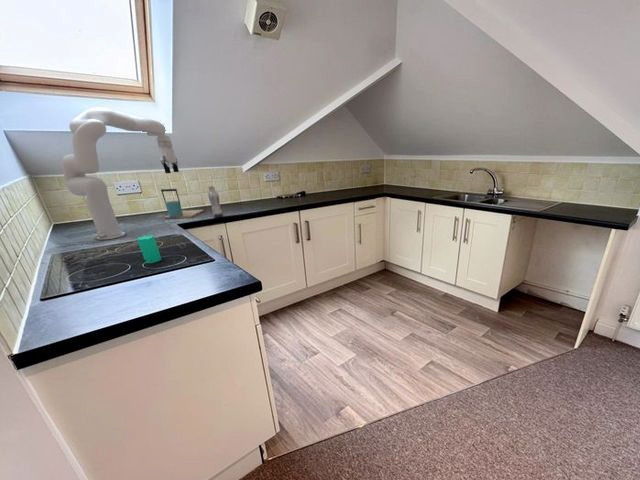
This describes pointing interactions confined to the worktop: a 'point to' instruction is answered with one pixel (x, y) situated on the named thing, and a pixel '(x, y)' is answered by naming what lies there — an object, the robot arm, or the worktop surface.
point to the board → (187, 214)
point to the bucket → (173, 205)
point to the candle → (149, 248)
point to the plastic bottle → (215, 202)
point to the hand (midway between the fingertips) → (172, 172)
